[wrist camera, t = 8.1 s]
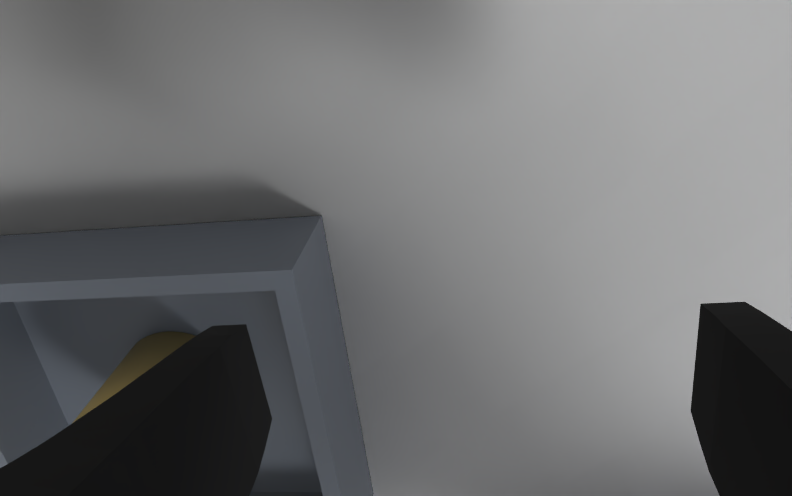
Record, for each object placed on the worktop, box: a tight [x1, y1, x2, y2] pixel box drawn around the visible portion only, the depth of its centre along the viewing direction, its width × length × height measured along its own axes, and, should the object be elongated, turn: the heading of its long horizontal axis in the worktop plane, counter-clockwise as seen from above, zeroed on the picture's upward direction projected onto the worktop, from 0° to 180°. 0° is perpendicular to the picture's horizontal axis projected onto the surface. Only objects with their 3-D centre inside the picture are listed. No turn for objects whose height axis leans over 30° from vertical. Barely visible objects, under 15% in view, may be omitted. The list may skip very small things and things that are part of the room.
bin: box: [0, 216, 373, 496], centre depth 22 cm, size 12×12×4 cm
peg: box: [73, 331, 195, 422], centre depth 20 cm, size 4×4×7 cm
